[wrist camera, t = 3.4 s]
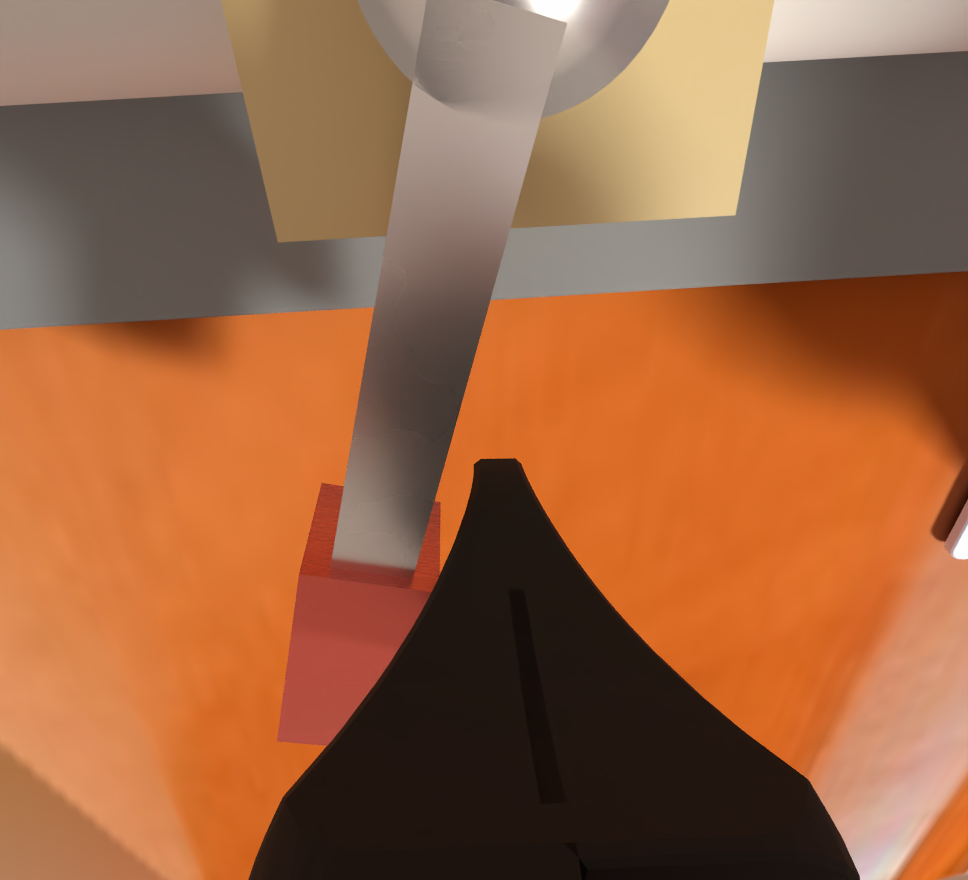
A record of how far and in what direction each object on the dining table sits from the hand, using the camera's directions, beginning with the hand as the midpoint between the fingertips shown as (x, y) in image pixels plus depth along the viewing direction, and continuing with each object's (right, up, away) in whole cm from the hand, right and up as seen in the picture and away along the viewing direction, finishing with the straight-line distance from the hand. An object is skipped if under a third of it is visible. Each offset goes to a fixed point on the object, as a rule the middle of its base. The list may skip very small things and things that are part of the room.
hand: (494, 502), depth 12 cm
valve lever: (-1, +2, -2) cm, 3 cm away
